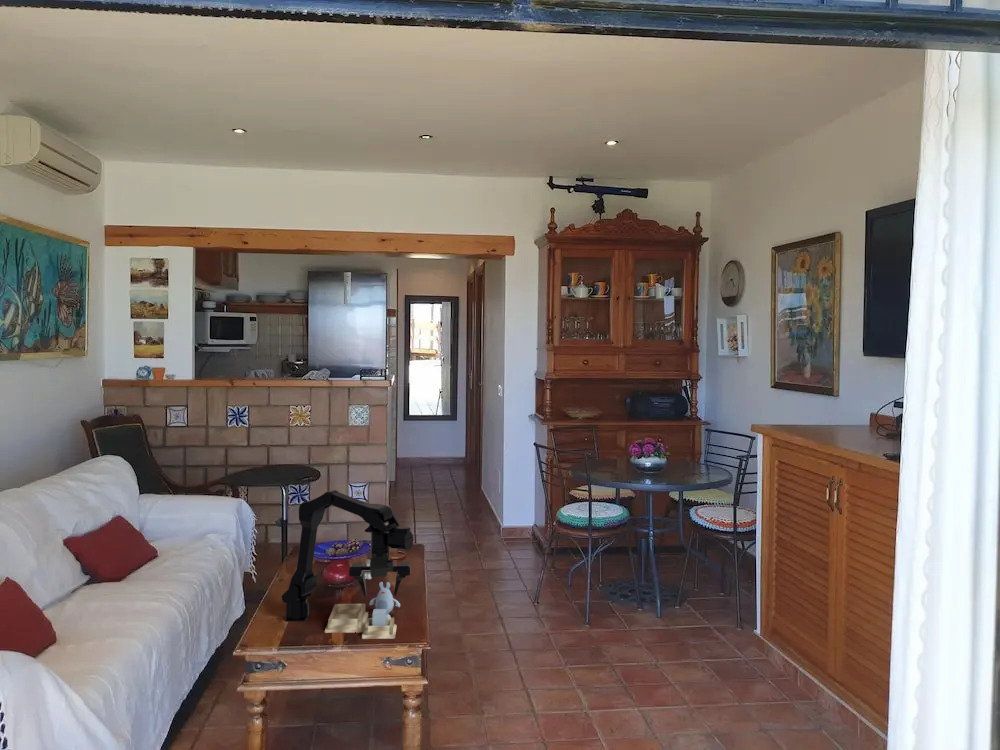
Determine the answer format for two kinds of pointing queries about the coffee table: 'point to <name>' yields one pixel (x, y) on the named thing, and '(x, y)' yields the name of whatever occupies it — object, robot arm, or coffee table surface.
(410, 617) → the coffee table surface
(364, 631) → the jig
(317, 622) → the coffee table surface
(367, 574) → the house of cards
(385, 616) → the block
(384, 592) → the toy figure
